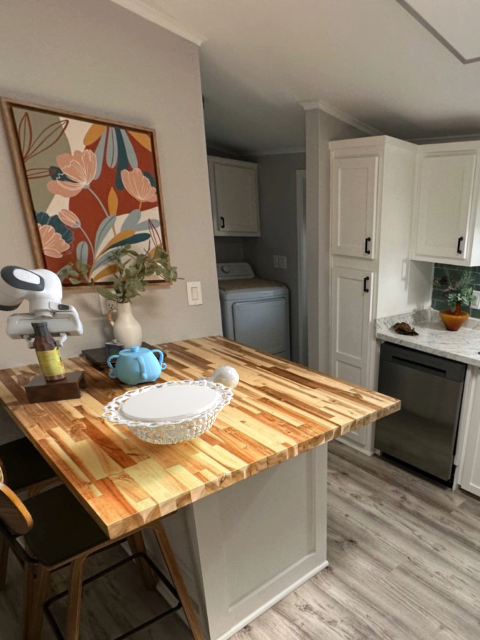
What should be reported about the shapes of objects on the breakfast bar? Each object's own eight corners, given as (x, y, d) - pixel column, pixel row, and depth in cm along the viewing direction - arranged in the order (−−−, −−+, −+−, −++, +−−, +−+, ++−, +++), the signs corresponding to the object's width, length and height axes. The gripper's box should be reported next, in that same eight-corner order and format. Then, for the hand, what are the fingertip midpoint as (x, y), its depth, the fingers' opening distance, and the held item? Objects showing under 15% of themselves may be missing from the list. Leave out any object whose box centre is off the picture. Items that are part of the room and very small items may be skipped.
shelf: (29, 403, 135) (24, 387, 133) (40, 391, 145) (35, 375, 143) (80, 398, 141) (76, 381, 138) (87, 386, 151) (83, 371, 149)
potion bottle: (243, 391, 155) (203, 404, 147) (231, 371, 158) (191, 384, 149) (244, 376, 148) (203, 390, 140) (232, 357, 151) (191, 369, 142)
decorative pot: (105, 385, 152) (96, 350, 147) (137, 371, 167) (130, 339, 162) (143, 389, 150) (136, 354, 145) (173, 375, 165) (167, 342, 159)
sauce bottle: (70, 378, 142) (55, 321, 134) (49, 383, 137) (32, 324, 129) (61, 374, 145) (46, 318, 137) (40, 378, 140) (23, 321, 132)
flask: (107, 363, 175) (102, 339, 171) (113, 361, 178) (108, 337, 174) (125, 366, 173) (119, 341, 169) (130, 364, 176) (125, 339, 172)
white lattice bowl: (206, 408, 136) (200, 372, 132) (260, 440, 118) (256, 399, 113) (94, 442, 113) (83, 400, 109) (140, 488, 95) (128, 440, 90)
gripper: (2, 308, 134) (1, 344, 129) (78, 305, 142) (79, 339, 137) (11, 319, 139) (10, 354, 134) (84, 316, 147) (85, 349, 143)
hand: (45, 347), depth 136 cm, fingers closed on sauce bottle, 6 cm apart
